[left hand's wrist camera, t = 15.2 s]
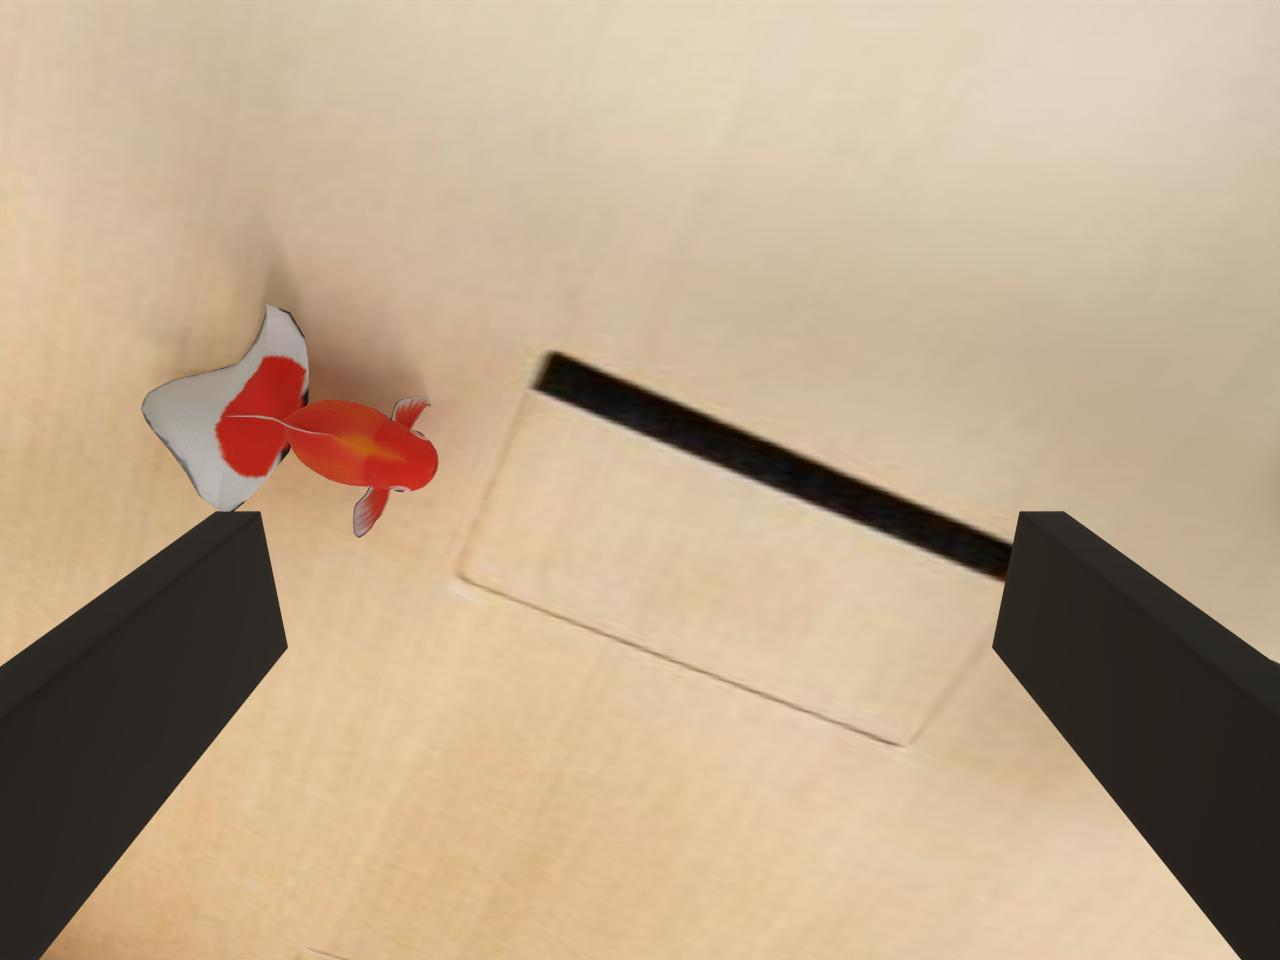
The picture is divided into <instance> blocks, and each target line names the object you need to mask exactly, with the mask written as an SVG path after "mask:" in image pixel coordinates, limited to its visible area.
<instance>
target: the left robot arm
mask: <svg viewBox="0 0 1280 960" xmlns="http://www.w3.org/2000/svg"><path fill="white" fill-rule="evenodd" d="M287 648H288V646H287V641H286V636H285V631H284V626H283V621H282V616H281V611H280V606H279V601H278V596H277V591H276V586H275V581H274V576H273V572H272V567H271V562H270V557H269V552H268V547H267V542H266V537H265V532H264V527H263V522H262V517H261V512H260V511H216V512H215V513H213V514H212V515H210V516H209V517H208V518H206V519H205V520H203V521H202V522H201V523H199V524H198V525H197V526H195V527H194V528H192V529H191V530H190V531H188V532H187V533H185V534H184V535H183V536H181V537H180V538H178V539H177V540H176V541H174V542H173V543H172V544H170V545H169V546H167V547H166V548H165V549H163V550H162V551H160V552H159V553H158V554H156V555H155V556H153V557H152V558H151V559H149V560H148V561H147V562H145V563H144V564H142V565H141V566H140V567H138V568H137V569H135V570H134V571H133V572H131V573H130V574H128V575H127V576H126V577H124V578H123V579H122V580H120V581H119V582H117V583H116V584H115V585H113V586H112V587H110V588H109V589H108V590H106V591H105V592H103V593H102V594H101V595H99V596H98V597H96V598H95V599H94V600H92V601H91V602H90V603H88V604H87V605H85V606H84V607H83V608H81V609H80V610H78V611H77V612H76V613H74V614H73V615H71V616H70V617H69V618H67V619H66V620H65V621H63V622H62V623H60V624H59V625H58V626H56V627H55V628H53V629H52V630H51V631H49V632H48V633H46V634H45V635H44V636H42V637H41V638H40V639H38V640H37V641H35V642H34V643H33V644H31V645H30V646H28V647H27V648H26V649H24V650H23V651H21V652H20V653H19V654H17V655H16V656H15V657H13V658H12V659H10V660H9V661H8V662H6V663H5V664H3V665H2V666H1V667H0V960H39V959H40V958H41V956H42V955H43V954H44V953H45V951H46V950H47V949H48V947H49V946H50V945H51V944H52V942H53V941H54V940H55V939H56V937H57V936H58V935H59V934H60V932H61V931H62V930H63V929H64V927H65V926H66V925H67V924H68V922H69V921H70V920H71V919H72V917H73V916H74V915H75V914H76V912H77V911H78V910H79V909H80V907H81V906H82V905H83V904H84V902H85V901H86V900H87V899H88V897H89V896H90V895H91V894H92V892H93V891H94V890H95V889H96V887H97V886H98V885H99V884H100V882H101V881H102V880H103V879H104V877H105V876H106V875H107V874H108V872H109V871H110V870H111V869H112V867H113V866H114V865H115V864H116V862H117V861H118V860H119V859H120V857H121V856H122V855H123V854H124V852H125V851H126V850H127V849H128V847H129V846H130V845H131V843H132V842H133V841H134V840H135V838H136V837H137V836H138V835H139V833H140V832H141V831H142V830H143V828H144V827H145V826H146V825H147V823H148V822H149V821H150V820H151V818H152V817H153V816H154V815H155V813H156V812H157V811H158V810H159V808H160V807H161V806H162V805H163V803H164V802H165V801H166V800H167V798H168V797H169V796H170V795H171V793H172V792H173V791H174V790H175V788H176V787H177V786H178V785H179V783H180V782H181V781H182V780H183V778H184V777H185V776H186V775H187V773H188V772H189V771H190V770H191V768H192V767H193V766H194V765H195V763H196V762H197V761H198V760H199V758H200V757H201V756H202V755H203V753H204V752H205V751H206V750H207V748H208V747H209V746H210V744H211V743H212V742H213V741H214V739H215V738H216V737H217V736H218V734H219V733H220V732H221V731H222V729H223V728H224V727H225V726H226V724H227V723H228V722H229V721H230V719H231V718H232V717H233V716H234V714H235V713H236V712H237V711H238V709H239V708H240V707H241V706H242V704H243V703H244V702H245V701H246V699H247V698H248V697H249V696H250V694H251V693H252V692H253V691H254V689H255V688H256V687H257V686H258V684H259V683H260V682H261V681H262V679H263V678H264V677H265V676H266V674H267V673H268V672H269V671H270V669H271V668H272V667H273V666H274V664H275V663H276V662H277V661H278V659H279V658H280V657H281V656H282V654H283V653H284V652H285V651H286V649H287ZM992 648H993V649H994V651H995V652H996V653H997V654H998V656H999V657H1000V658H1001V659H1002V661H1003V662H1004V663H1005V664H1006V666H1007V667H1008V668H1009V669H1010V671H1011V672H1012V673H1013V674H1014V676H1015V677H1016V678H1017V679H1018V681H1019V682H1020V683H1021V684H1022V686H1023V687H1024V688H1025V689H1026V691H1027V692H1028V693H1029V694H1030V696H1031V697H1032V698H1033V699H1034V701H1035V702H1036V703H1037V704H1038V706H1039V707H1040V708H1041V709H1042V711H1043V712H1044V713H1045V714H1046V716H1047V717H1048V718H1049V719H1050V721H1051V722H1052V723H1053V724H1054V726H1055V727H1056V728H1057V729H1058V731H1059V732H1060V733H1061V734H1062V736H1063V737H1064V738H1065V739H1066V741H1067V742H1068V743H1069V744H1070V746H1071V747H1072V748H1073V750H1074V751H1075V752H1076V753H1077V755H1078V756H1079V757H1080V758H1081V760H1082V761H1083V762H1084V763H1085V765H1086V766H1087V767H1088V768H1089V770H1090V771H1091V772H1092V773H1093V775H1094V776H1095V777H1096V778H1097V780H1098V781H1099V782H1100V783H1101V785H1102V786H1103V787H1104V788H1105V790H1106V791H1107V792H1108V793H1109V795H1110V796H1111V797H1112V798H1113V800H1114V801H1115V802H1116V803H1117V805H1118V806H1119V807H1120V808H1121V810H1122V811H1123V812H1124V813H1125V815H1126V816H1127V817H1128V818H1129V820H1130V821H1131V822H1132V823H1133V825H1134V826H1135V827H1136V828H1137V830H1138V831H1139V832H1140V833H1141V835H1142V836H1143V837H1144V838H1145V840H1146V841H1147V842H1148V843H1149V845H1150V846H1151V847H1152V849H1153V850H1154V851H1155V852H1156V854H1157V855H1158V856H1159V857H1160V859H1161V860H1162V861H1163V862H1164V864H1165V865H1166V866H1167V867H1168V869H1169V870H1170V871H1171V872H1172V874H1173V875H1174V876H1175V877H1176V879H1177V880H1178V881H1179V882H1180V884H1181V885H1182V886H1183V887H1184V889H1185V890H1186V891H1187V892H1188V894H1189V895H1190V896H1191V897H1192V899H1193V900H1194V901H1195V902H1196V904H1197V905H1198V906H1199V907H1200V909H1201V910H1202V911H1203V912H1204V914H1205V915H1206V916H1207V917H1208V919H1209V920H1210V921H1211V922H1212V924H1213V925H1214V926H1215V927H1216V929H1217V930H1218V931H1219V932H1220V934H1221V935H1222V936H1223V937H1224V939H1225V940H1226V941H1227V942H1228V944H1229V945H1230V946H1231V947H1232V949H1233V950H1234V951H1235V953H1236V954H1237V955H1238V956H1239V958H1240V959H1241V960H1280V664H1279V663H1277V662H1275V661H1273V660H1270V659H1268V658H1267V657H1265V656H1264V655H1263V654H1261V653H1260V652H1259V651H1257V650H1256V649H1254V648H1253V647H1252V646H1250V645H1249V644H1247V643H1246V642H1245V641H1243V640H1242V639H1240V638H1239V637H1238V636H1236V635H1235V634H1234V633H1232V632H1231V631H1229V630H1228V629H1227V628H1225V627H1224V626H1222V625H1221V624H1220V623H1218V622H1217V621H1215V620H1214V619H1213V618H1211V617H1210V616H1209V615H1207V614H1206V613H1204V612H1203V611H1202V610H1200V609H1199V608H1197V607H1196V606H1195V605H1193V604H1192V603H1190V602H1189V601H1188V600H1186V599H1185V598H1183V597H1182V596H1181V595H1179V594H1178V593H1177V592H1175V591H1174V590H1172V589H1171V588H1170V587H1168V586H1167V585H1165V584H1164V583H1163V582H1161V581H1160V580H1158V579H1157V578H1156V577H1154V576H1153V575H1152V574H1150V573H1149V572H1147V571H1146V570H1145V569H1143V568H1142V567H1140V566H1139V565H1138V564H1136V563H1135V562H1133V561H1132V560H1131V559H1129V558H1128V557H1127V556H1125V555H1124V554H1122V553H1121V552H1120V551H1118V550H1117V549H1115V548H1114V547H1113V546H1111V545H1110V544H1108V543H1107V542H1106V541H1104V540H1103V539H1102V538H1100V537H1099V536H1097V535H1096V534H1095V533H1093V532H1092V531H1090V530H1089V529H1088V528H1086V527H1085V526H1083V525H1082V524H1081V523H1079V522H1078V521H1077V520H1075V519H1074V518H1072V517H1071V516H1070V515H1068V514H1067V513H1065V512H1064V511H1020V512H1019V517H1018V522H1017V527H1016V532H1015V537H1014V542H1013V547H1012V552H1011V557H1010V562H1009V567H1008V572H1007V576H1006V581H1005V586H1004V591H1003V596H1002V601H1001V606H1000V611H999V616H998V621H997V626H996V631H995V636H994V641H993V646H992Z"/></svg>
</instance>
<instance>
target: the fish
mask: <svg viewBox="0 0 1280 960" xmlns="http://www.w3.org/2000/svg"><path fill="white" fill-rule="evenodd" d="M266 307H267V311H266V314H265V317H264V320H263V323H262V326H261V329H260V332H259V333H258V335H257V337H256V339H255V341H254V343H253V345H252V347H251V349H250V350H249V351H248V352H247V354H246V355H245V356H244V357H243V358H242V360H241V361H240V362H239V363H238V364H236V365H232V366H229V367H225V368H221V369H218V370H215V371H211V372H208V373H205V374H199V375H194V376H189V377H184V378H180V379H176V380H172V381H169V382H167V383H165V384H163V385H162V386H160V387H158V388H156V389H154V390H152V391H150V392H149V393H148V394H147V396H146V397H145V399H144V401H143V404H142V407H141V410H142V413H143V415H144V418H145V420H146V422H147V423H148V424H149V426H150V427H151V428H152V430H153V431H154V432H155V434H156V435H157V436H158V437H159V438H160V440H161V441H162V442H163V443H164V444H165V446H166V447H167V448H168V449H169V450H170V451H171V453H172V454H173V456H174V457H175V458H176V460H177V461H178V462H179V464H180V465H181V466H182V468H183V469H184V470H185V472H186V473H187V475H188V476H189V478H190V480H191V482H192V484H193V485H194V487H195V489H196V491H197V493H198V494H199V496H200V497H201V498H203V499H204V500H206V501H207V502H209V503H210V504H212V505H213V506H214V507H216V508H217V509H219V510H221V511H235V510H236V509H237V508H238V507H240V506H241V505H242V504H243V503H244V502H245V501H246V500H247V499H248V498H249V497H250V496H252V495H253V494H254V493H255V492H256V491H257V490H258V488H259V487H260V486H261V485H262V484H263V483H264V482H265V480H266V479H267V478H268V477H269V476H270V475H271V473H272V472H273V471H274V470H275V468H276V467H277V466H278V465H279V464H280V462H281V461H282V460H283V459H284V458H285V456H286V455H287V454H288V453H289V451H290V447H291V448H292V449H293V451H294V453H295V454H296V455H297V457H298V458H299V459H300V460H301V462H303V463H304V464H305V465H306V466H307V467H309V468H310V469H312V470H313V471H315V472H317V473H318V474H320V475H322V476H324V477H326V478H327V479H330V480H332V481H335V482H339V483H342V484H347V485H355V486H370V487H369V489H368V491H367V493H366V494H365V495H364V496H363V497H362V498H361V499H360V500H359V501H358V502H357V503H356V505H355V508H354V518H353V525H354V534H355V535H356V536H357V537H359V538H360V537H361V536H363V535H365V534H366V533H367V532H368V531H369V530H370V529H371V528H372V526H373V525H374V523H375V522H376V520H377V519H378V518H379V517H380V516H381V515H382V513H383V510H384V508H385V506H386V504H387V501H388V497H389V493H390V489H393V490H395V491H398V492H406V491H414V490H417V489H420V488H423V487H424V486H425V485H427V484H428V483H429V482H430V481H431V480H432V479H433V477H434V475H435V474H436V472H437V468H438V455H437V451H436V449H435V448H434V446H433V445H432V443H431V442H430V441H429V440H428V439H427V438H426V437H425V436H424V435H423V434H422V433H420V432H418V431H412V430H411V428H412V426H413V425H414V423H415V421H416V420H417V418H418V417H419V416H420V414H421V413H422V411H423V410H424V408H425V407H426V406H427V405H429V406H430V402H429V399H428V397H412V398H408V399H403V400H400V401H398V402H397V403H396V405H395V407H394V410H393V413H392V418H391V420H390V419H389V418H388V417H386V416H385V415H383V414H382V413H380V412H379V411H377V410H375V409H372V408H370V407H367V406H364V405H361V404H358V403H353V402H348V401H339V400H324V401H320V402H316V403H313V404H310V405H307V403H308V388H309V366H308V356H307V350H306V344H305V339H304V335H303V334H302V332H301V330H300V329H299V327H298V325H297V324H296V322H295V320H294V318H293V317H292V315H291V313H290V312H287V311H285V310H282V309H279V308H277V307H274V306H271V305H269V304H266ZM306 405H307V406H306Z"/></svg>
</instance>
